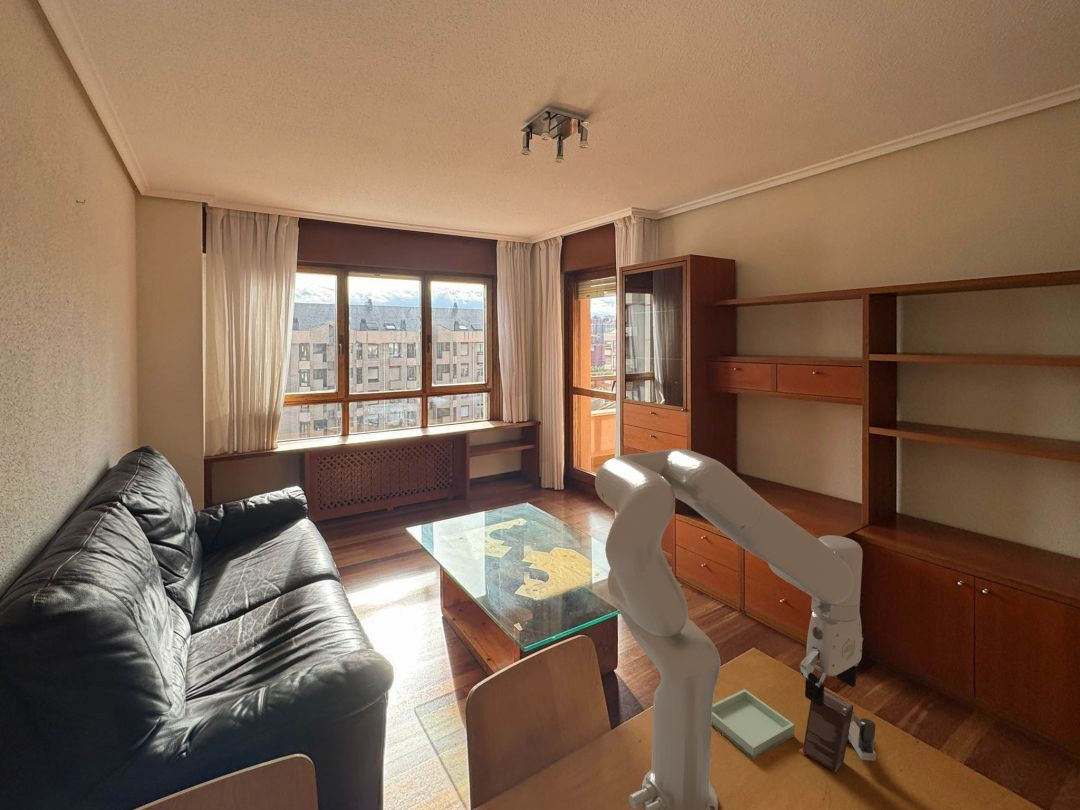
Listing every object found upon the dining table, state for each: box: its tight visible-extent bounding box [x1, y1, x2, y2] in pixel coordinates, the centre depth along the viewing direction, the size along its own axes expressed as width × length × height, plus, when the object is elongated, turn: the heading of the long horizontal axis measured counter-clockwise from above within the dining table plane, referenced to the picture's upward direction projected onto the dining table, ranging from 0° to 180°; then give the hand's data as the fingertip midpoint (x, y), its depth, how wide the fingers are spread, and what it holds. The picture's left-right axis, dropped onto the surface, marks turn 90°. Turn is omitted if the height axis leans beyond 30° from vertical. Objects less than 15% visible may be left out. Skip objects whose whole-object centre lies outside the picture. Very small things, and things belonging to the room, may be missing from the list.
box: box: [802, 688, 854, 773], centre depth 97 cm, size 6×4×12 cm
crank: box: [848, 711, 877, 762], centre depth 100 cm, size 12×4×6 cm, turn 174°
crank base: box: [798, 715, 861, 756], centre depth 102 cm, size 16×7×2 cm, turn 119°
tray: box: [712, 688, 795, 761], centre depth 105 cm, size 12×12×2 cm
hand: (830, 691), depth 96 cm, fingers open, 9 cm apart
